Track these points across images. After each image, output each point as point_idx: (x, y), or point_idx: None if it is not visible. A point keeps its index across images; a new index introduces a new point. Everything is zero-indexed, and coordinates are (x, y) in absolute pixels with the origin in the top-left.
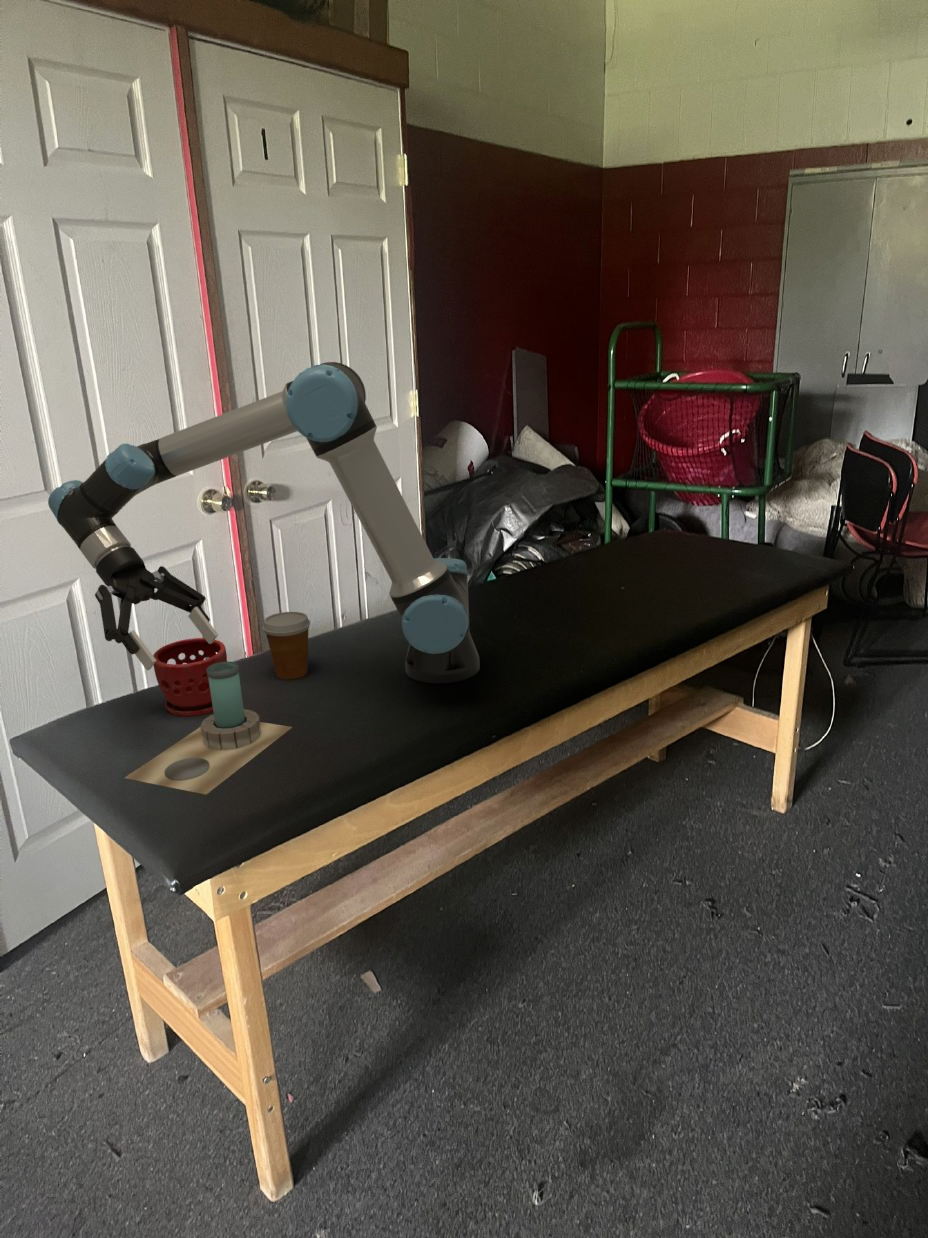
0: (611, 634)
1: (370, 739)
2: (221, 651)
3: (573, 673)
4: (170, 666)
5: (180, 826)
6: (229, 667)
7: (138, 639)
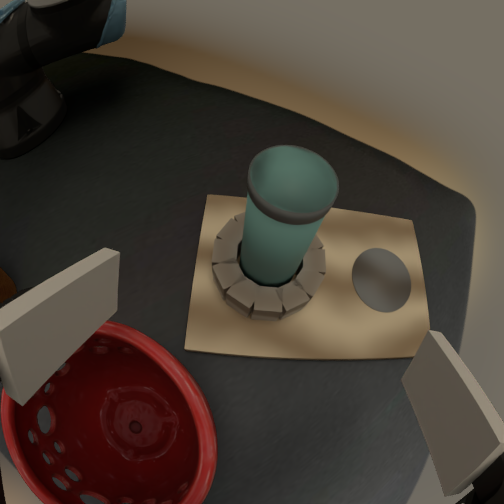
0: None
1: (210, 118)
2: None
3: (70, 58)
4: (215, 441)
5: (448, 226)
6: (288, 160)
7: (483, 404)
